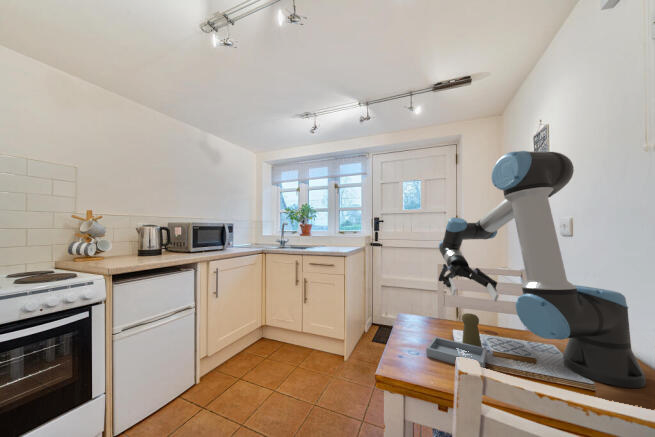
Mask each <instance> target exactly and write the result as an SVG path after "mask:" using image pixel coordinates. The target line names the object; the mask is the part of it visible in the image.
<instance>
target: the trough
mask: <svg viewBox="0 0 655 437" xmlns="http://www.w3.org/2000/svg"><path fill="white" fill-rule="evenodd" d="M456 348H459V349H462V350H465V351H467V352H464V353H465V354H472V355H466V357H465V355H464V356H462V355H461V356H460V355H459V354H458V351H457V349H456ZM425 349H426V357H427V358H431V359H434V360H437V361H442V362H445V363H450V364H453V365H456V364H455V360H456V357H465V358H470V359H474V360H477V361H478V362H479V363H480V365H481V366H482V367H483V368H486V364H485V362H486V363H487V360H486V358H487V359H488V351H487V348H485V347H483V346H482V347H478V346H474V345H469V344H465V343H462V342H459V341H455V340H452V339H451V340H450V339H446V338H443V337H438V336H434V337H433V338H432V340H431V342H429V344H427V347H426V348H425ZM468 351H469V352H468ZM460 354H461V353H460ZM471 356H472V357H471Z"/></svg>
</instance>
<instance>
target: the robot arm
mask: <svg viewBox="0 0 655 437" xmlns="http://www.w3.org/2000/svg"><path fill="white" fill-rule="evenodd" d="M574 171H575V170H574V165H573V162H572V160H571V158H569V157H568V156H566V155H565V154H563V153H561V152H556V151H527V150H519V151H509V152H507V153H505V154H503V155H502V156H501V157H500V158H498V160H497V161H496V162H495V165H494V166H493V167H492V170H491V183H492V184H493V186H494V187H496V189H498V190H501V191H503V198H504V200H502V201H501V202H500V203H499V204H498V205H496V206H495V207H494V208H493V209H492V210H490V211H489V212H487V213H486V214H485V215H484V216H483V217H482V218H480V219H479V220H478V221H476V222H467V220H466V219H463V218H462V217H461V218H460V217H451V218H449V219H448V221H447V224H446V226H445V231H444V237H443V239H442V240H441V241H440V242H439V243H438V249H439V253H440V254H441V255H442V257H443V259H444V262H445V263H443V265H442V268H441V272H440V273H439V276H438V281H439V282H443V284H444V285H445V287H446V288H449V290H450V293H451V295H452V296H454V297H455V295H456V293H457V287H456V285H455V283H454V281H453V279H454V278H456V277H458V278H459V277H462V278H467V279H469V280H471V281H472V280H473V281H475V283H478V284H480V285H481V286H483V287H484V288H486V289H485V290H486V291H487V293H488V294H489V296H490V297H491V299H492V300H493V302H497V300H498V298H499V297H500V295H499V293H498V292H497V291H498V290H497V288H496V287H497V285H498V282H497V281H496V280H495V279H493V278H491V277H490V276H488V275H487V274H485V273H484V272H482V270H481V269H480V268H478V267H475V269H472V268H471V267H470V264H469V263H468V261H467V259H466V258H465V257H464V254H463V253H462V251H460V249H461V246H462V243H463V240H468V241H469V240H489V239H494V238H495V237H496V236H497V235H498V230H499V229H501V228H502V227H504V226H505V225H507V224H508V223H509V222H511V221H512V220H514V222H515V227H516V231H517V232H516V233H517V236H518V241H519V247H520V251H521V255H522V256H521V257H522V262H523V265H524V266H523V267H524V272H525V276H526V277H525V278H526V281H525V282H524V283H523V284H522V285H521V289H522V294H521V295H520V296H518V298H517V300H516V301H515V311H516V314H517V316H518V318H519V320H520V322H521V323H522V325H523V326H524V327H526V328H527V330H529V332H531V333H533V334H534V335H536V336H537V337H539V338H542V339H544V340H545V339H546V340H558V341H559V340H560V341H561V340H565V339H567V340H568V341H567V343H566V344H565V345H566V346H565V348H564V351H563V354H562V356H563V364H564V366H566V367H567V368H568V369H570V370H571V371H573V372H575V373H576V374H578V375H580V376H582V377H585V378H587V379H590V380H594V381H596V382H599V383H602V384H606V385H609V386H615V387H618V388H619V387H620V388H629V389H640V388H644V387H645V386H646V385H647V382H646V375H645V372H644V370H643V368H642V367H641V364H640V363H639V361H638V359H637V358H636V356H635V354H634V352H633V350H632V341H631V332H630V321H629V320H630V319H629V312H628V311H629V306H628V303H627V300H626V296H625V295H624V294H623V293H621V292H618V291H615V290H609V289H605V288H598V287H590V286H584V285H577V284H572V282H570V281H568V279H567V278H568V277H567V274H566V269H565V266H564V261H563V256H562V252H561V249H560V244H559V240H558V236H557V232H556V226H555V222H554V221H555V220H554V218H553V213H552V209H551V206H550V201H549V200H550V199H549V198H551V197H552V196H554V195H555V194H557V193H559V192H560V191H561V190H563V188H565V186H566V185H567V184H569V183H570V181H571V179H572V178H573V174H574ZM448 271H449V272H448ZM447 272H448V273H447ZM446 273H447V274H446Z"/></svg>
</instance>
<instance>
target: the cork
mask: <svg viewBox="0 0 655 437" xmlns="http://www.w3.org/2000/svg"><path fill="white" fill-rule="evenodd" d="M461 320H462V323H463V329H462V330H463V332H462V341H461V343H465V344H469V345H474V346H478V347H483V345H482V342H481V340H482V339H481V336H480V331H479V327H478V325H479V323H480V318H479V317H478V315H476V314H473V313H463V314H462V315H461Z"/></svg>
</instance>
